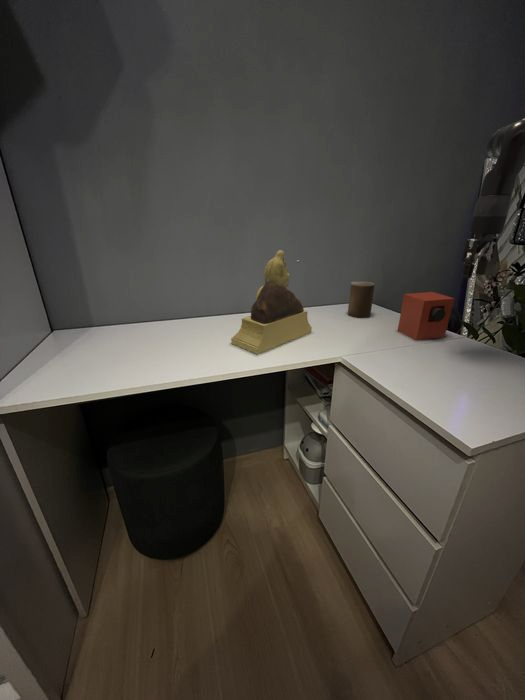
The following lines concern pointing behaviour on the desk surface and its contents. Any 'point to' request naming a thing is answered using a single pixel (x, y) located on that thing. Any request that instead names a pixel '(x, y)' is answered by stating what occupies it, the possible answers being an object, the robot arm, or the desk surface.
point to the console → (424, 315)
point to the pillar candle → (361, 299)
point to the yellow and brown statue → (273, 313)
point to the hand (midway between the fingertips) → (473, 276)
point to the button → (437, 314)
